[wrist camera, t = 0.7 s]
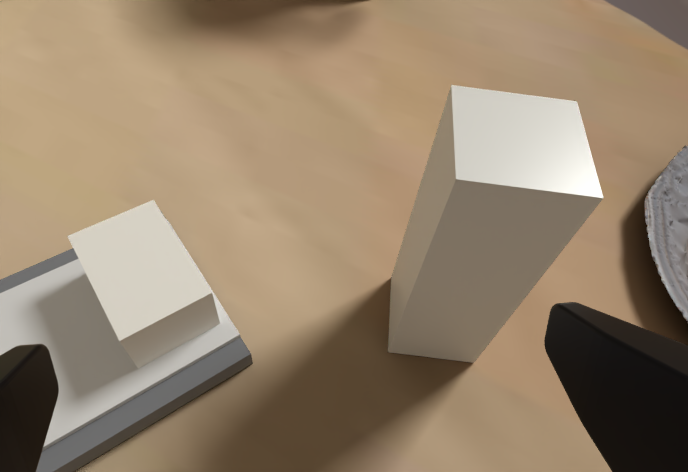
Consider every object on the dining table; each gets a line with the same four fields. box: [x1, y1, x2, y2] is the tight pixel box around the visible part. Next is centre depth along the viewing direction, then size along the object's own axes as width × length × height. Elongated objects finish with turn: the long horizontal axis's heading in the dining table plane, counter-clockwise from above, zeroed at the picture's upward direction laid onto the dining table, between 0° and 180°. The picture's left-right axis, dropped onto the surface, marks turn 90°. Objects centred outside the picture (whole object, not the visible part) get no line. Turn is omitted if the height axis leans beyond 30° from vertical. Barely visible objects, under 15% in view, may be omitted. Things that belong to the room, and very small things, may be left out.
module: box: [388, 85, 603, 363], centre depth 21 cm, size 5×4×13 cm
